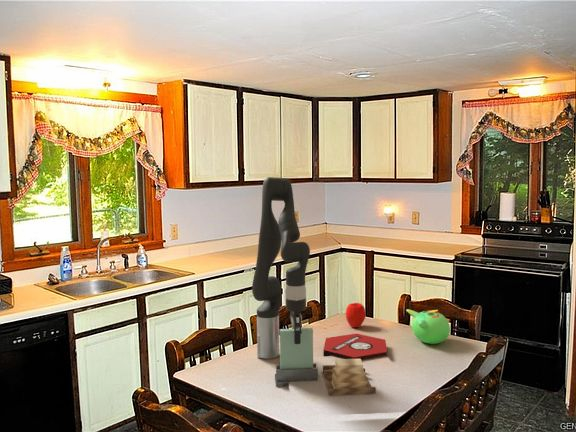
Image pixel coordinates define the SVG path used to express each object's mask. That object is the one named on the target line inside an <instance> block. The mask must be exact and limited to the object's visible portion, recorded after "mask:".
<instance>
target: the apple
mask: <svg viewBox="0 0 576 432" xmlns="http://www.w3.org/2000/svg"><path fill="white" fill-rule="evenodd" d="M345 318H346V322H347V323H348V324H349V326H350V327H351V328H360V327H361V326H362V324H363V323H364V321H365V319H366V309H365V307H364V305H363V304H362V303H359V302H352V303H349V304H348V305H347V306H346V309H345Z"/></svg>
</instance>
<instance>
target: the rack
mask: <svg viewBox="0 0 576 432" xmlns="http://www.w3.org/2000/svg"><path fill="white" fill-rule="evenodd" d="M333 368H335V364H325V365H324V364H323V365H322V371H321V373H320V374H321V376H322V379H323V382H324V384H325V385H324V386H325V388H326V390H327V394H328V396H329V397H334V396H335V397H336V396H337V397H338V396H355V395H375V394H377V391H376V389H377V387H376V386H372V384H371V382H370V380H369V379H368V377H367V376H366V382H367V387H359V388H337V389H334V387H333V385H332V375H333ZM363 370H364V372H365V373H366V368H364V367H363Z"/></svg>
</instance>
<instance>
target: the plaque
mask: <svg viewBox="0 0 576 432" xmlns="http://www.w3.org/2000/svg"><path fill="white" fill-rule="evenodd" d="M324 341H325V342H324V344H323V345H324V346H323V355H322V356H323V357H335V358H337V359H361V361H363V360H369V359H376V358H381V357H388V348H387V341H386V339H385V338H384V339H383V338H379V337H375V336H369V335H365V334H361V333H350V334H345V335H344V334H343V335H337V336H336V335H335V336H329V337H325V340H324Z"/></svg>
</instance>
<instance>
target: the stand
mask: <svg viewBox="0 0 576 432" xmlns="http://www.w3.org/2000/svg"><path fill="white" fill-rule="evenodd" d="M275 371H276V372H275V373H274V381H275V387H289V386H290V385H289V383H295V382H297V383H298V382H299V383H300V382H316V381H318V382H319V381H321V380H320V377H319V368H318V367H317V362H313V368H297V369H280V364H275Z"/></svg>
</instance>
